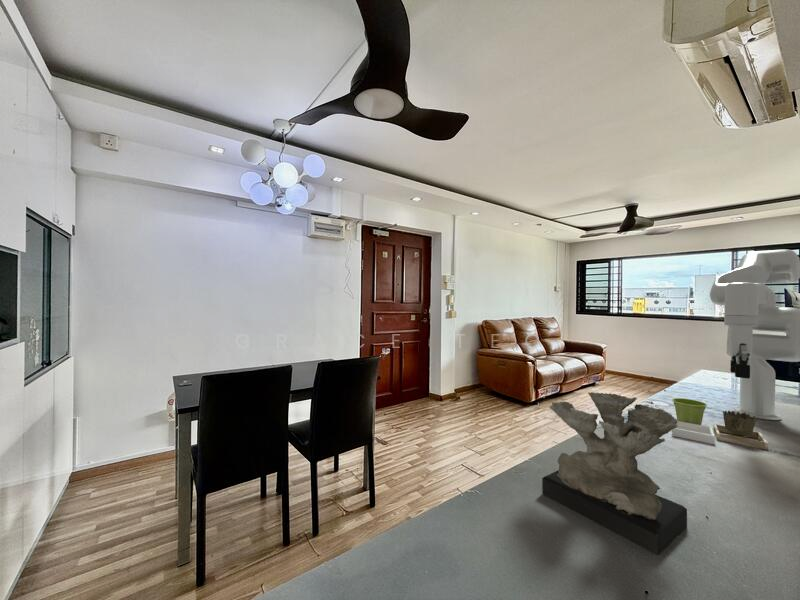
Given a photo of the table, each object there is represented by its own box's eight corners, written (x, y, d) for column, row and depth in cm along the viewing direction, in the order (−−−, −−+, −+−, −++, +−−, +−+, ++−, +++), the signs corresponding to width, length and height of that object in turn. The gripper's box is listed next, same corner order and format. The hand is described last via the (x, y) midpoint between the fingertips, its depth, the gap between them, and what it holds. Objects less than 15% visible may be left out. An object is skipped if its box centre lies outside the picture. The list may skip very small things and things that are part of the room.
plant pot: (665, 423, 120) (666, 399, 120) (680, 420, 124) (681, 396, 124) (697, 433, 112) (698, 407, 112) (712, 429, 116) (713, 404, 116)
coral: (527, 486, 78) (529, 392, 78) (578, 464, 88) (580, 382, 88) (655, 557, 56) (658, 428, 56) (701, 518, 67) (703, 409, 67)
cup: (762, 445, 103) (762, 418, 103) (733, 442, 105) (734, 416, 105) (743, 435, 111) (743, 411, 111) (716, 433, 112) (717, 409, 112)
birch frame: (713, 429, 116) (713, 423, 116) (760, 438, 109) (760, 432, 109) (717, 439, 107) (717, 433, 107) (767, 449, 100) (768, 442, 100)
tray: (672, 427, 117) (672, 419, 117) (711, 434, 111) (711, 427, 111) (672, 435, 109) (672, 428, 109) (714, 444, 103) (714, 436, 103)
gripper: (721, 319, 117) (720, 369, 117) (728, 321, 104) (727, 377, 103) (752, 321, 112) (751, 372, 112) (763, 323, 99) (762, 381, 99)
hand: (739, 375), depth 108 cm, fingers open, 9 cm apart
